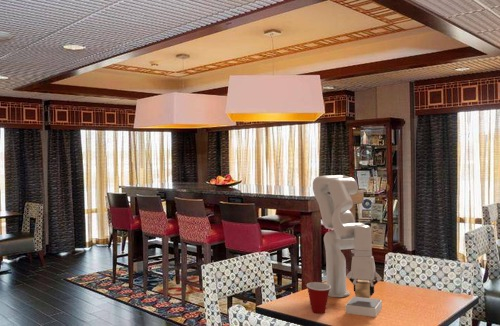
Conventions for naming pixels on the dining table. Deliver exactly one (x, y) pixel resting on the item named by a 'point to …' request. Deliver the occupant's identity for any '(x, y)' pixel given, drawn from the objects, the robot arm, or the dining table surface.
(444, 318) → the dining table surface
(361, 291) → the oak cube
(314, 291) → the plastic cup
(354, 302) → the plinth
